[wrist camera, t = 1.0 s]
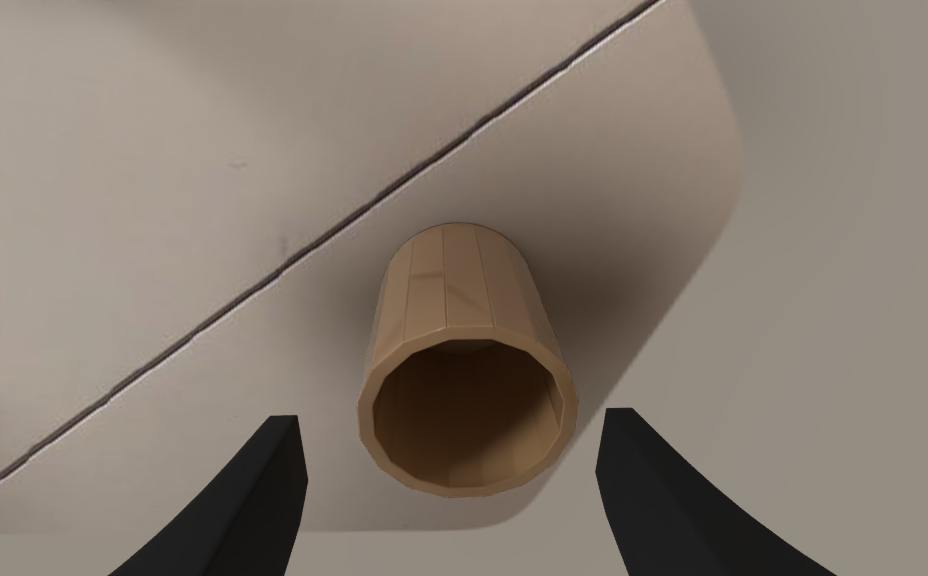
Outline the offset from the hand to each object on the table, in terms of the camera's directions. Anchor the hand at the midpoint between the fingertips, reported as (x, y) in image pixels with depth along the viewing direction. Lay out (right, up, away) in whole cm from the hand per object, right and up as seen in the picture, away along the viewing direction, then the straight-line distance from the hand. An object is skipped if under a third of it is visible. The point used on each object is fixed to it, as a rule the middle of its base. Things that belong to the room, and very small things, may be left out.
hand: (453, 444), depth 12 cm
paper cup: (0, +3, +7) cm, 8 cm away
